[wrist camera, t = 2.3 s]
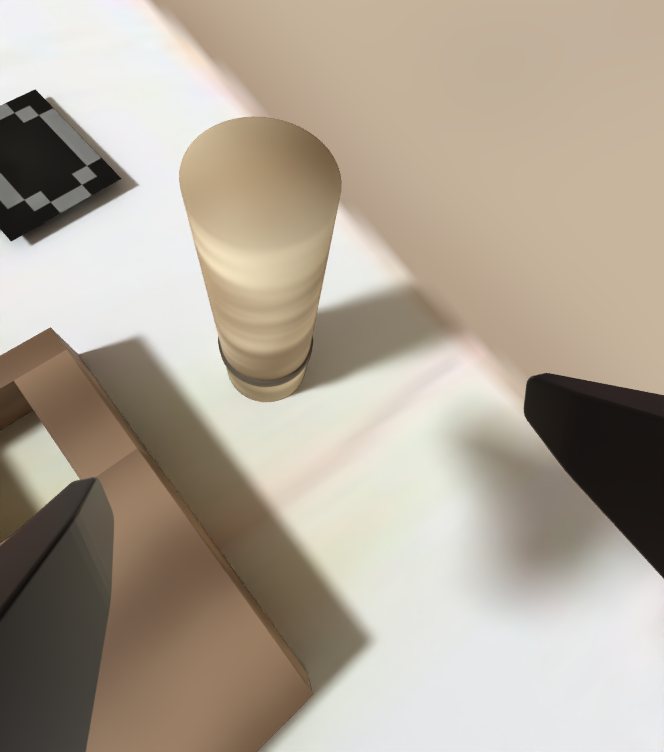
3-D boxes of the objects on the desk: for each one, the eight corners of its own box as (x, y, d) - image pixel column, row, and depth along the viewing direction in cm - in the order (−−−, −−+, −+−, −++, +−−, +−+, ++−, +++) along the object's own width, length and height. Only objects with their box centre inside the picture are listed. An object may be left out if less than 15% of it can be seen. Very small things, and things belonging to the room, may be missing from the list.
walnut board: (306, 672, 19) (313, 694, 16) (30, 945, 15) (-23, 1035, 13) (77, 354, 22) (50, 327, 20) (-195, 516, 19) (-276, 511, 16)
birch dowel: (323, 372, 24) (379, 196, 12) (258, 420, 22) (243, 279, 10) (274, 313, 25) (277, 92, 12) (208, 357, 23) (140, 157, 11)
